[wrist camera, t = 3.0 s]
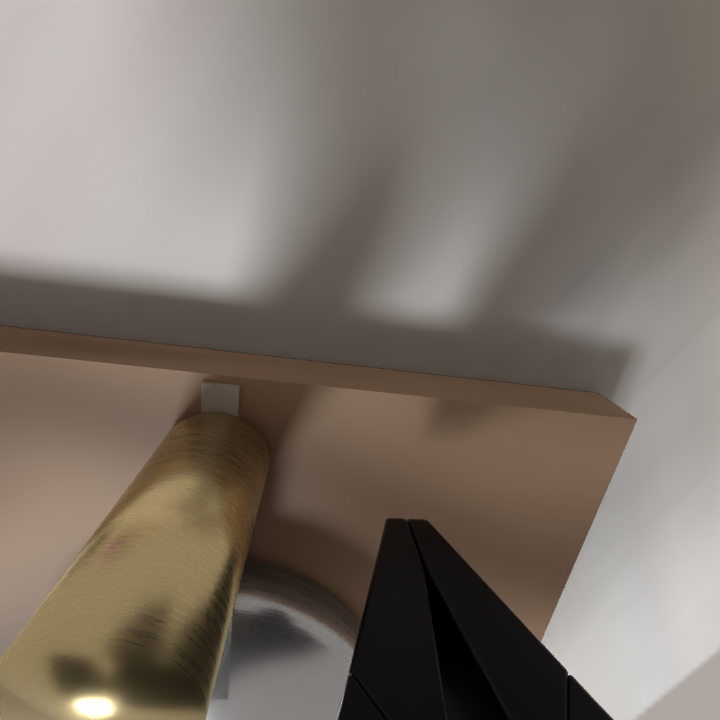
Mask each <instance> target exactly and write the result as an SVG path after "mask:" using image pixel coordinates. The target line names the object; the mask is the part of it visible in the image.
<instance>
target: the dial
mask: <svg viewBox="0 0 720 720" xmlns="http://www.w3.org/2000/svg"><path fill="white" fill-rule="evenodd" d="M269 463H270V456H269V450H268V447H267V444H266V442H265V440H264V439H263V437H262V436H261V434H260V433H259V432H258V431H257V430H256V429H255V428H254V427H253V426H252V425H251V424H249V423H248V422H246V421H245V420H243V419H241V418H239V417H236V416H234V415H231V414H227V413H222V412H202V413H197V414H194V415H191V416H188V417H186V418H184V419H183V420H181V421H180V422H178V423H177V424H176V425H175V426H174V427H173V428H172V429H171V430H170V431H169V433H168V434H167V435H166V437H165V438H164V439H163V441H162V442H161V444H160V445H159V446H158V448H157V449H156V450H155V452H154V453H153V454H152V456H151V457H150V458H149V460H148V461H147V462H146V464H145V465H144V466H143V468H142V469H141V470H140V472H139V473H138V474H137V476H136V477H135V478H134V480H133V481H132V483H131V484H130V485H129V487H128V488H127V489H126V491H125V492H124V493H123V495H122V496H121V497H120V499H119V500H118V501H117V503H116V504H115V505H114V507H113V508H112V509H111V511H110V512H109V513H108V515H107V516H106V517H105V519H104V520H103V522H102V523H101V524H100V526H99V527H98V528H97V530H96V531H95V532H94V534H93V535H92V536H91V538H90V539H89V540H88V542H87V543H86V544H85V546H84V547H83V548H82V550H81V551H80V552H79V554H78V555H77V557H76V558H75V559H74V561H73V562H72V563H71V565H70V566H69V567H68V569H67V570H66V571H65V573H64V574H63V575H62V577H61V578H60V579H59V581H58V582H57V583H56V585H55V586H54V587H53V589H52V590H51V591H50V593H49V594H48V596H47V597H46V598H45V600H44V601H43V602H42V604H41V605H40V606H39V608H38V609H37V610H36V612H35V613H34V614H33V616H32V617H31V618H30V620H29V621H28V622H27V624H26V625H25V626H24V628H23V629H22V630H21V632H20V633H19V635H18V636H17V637H16V639H15V640H14V641H13V643H12V644H11V645H10V647H9V648H8V649H7V651H6V652H5V653H4V655H3V656H2V657H1V659H0V720H336V718H337V714H338V710H339V707H340V703H341V699H342V695H343V691H344V687H345V683H346V679H347V677H348V672H349V668H350V664H351V660H352V656H353V652H354V648H355V643H356V639H357V635H358V631H359V627H360V622H359V620H358V619H357V618H356V616H355V615H354V614H353V613H352V612H351V611H350V610H349V609H348V608H347V607H346V606H345V605H344V604H343V603H341V602H340V601H339V600H338V599H336V598H335V597H334V596H332V595H331V594H330V593H328V592H327V591H325V590H324V589H322V588H320V587H318V586H317V585H315V584H313V583H312V582H310V581H308V580H306V579H303V578H301V577H299V576H296V575H294V574H292V573H290V572H287V571H284V570H280V569H277V568H274V567H271V566H268V565H264V564H259V563H255V562H250V561H246V557H247V553H248V549H249V545H250V541H251V537H252V533H253V529H254V525H255V521H256V517H257V513H258V509H259V505H260V501H261V497H262V493H263V489H264V485H265V481H266V477H267V473H268V469H269Z"/></svg>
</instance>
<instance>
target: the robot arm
mask: <svg viewBox="0 0 720 720" xmlns="http://www.w3.org/2000/svg"><path fill="white" fill-rule="evenodd" d="M336 720H613V718H612V717H611V716H610V715H609V714H608V713H607V712H606V711H605V710H604V709H603V708H602V707H601V706H600V705H599V704H598V703H597V702H596V701H595V700H594V699H593V698H592V697H591V695H590V694H589V693H588V692H587V691H586V690H585V689H584V688H583V687H582V686H581V685H580V684H579V683H578V681H577V680H576V679H575V678H574V677H573V676H571V675H569V676H568V672H567V670H566V669H565V668H564V667H563V665H562V664H561V663H560V662H559V661H558V660H557V659H556V658H555V657H554V656H553V655H552V654H551V653H550V651H549V650H548V649H547V648H546V647H545V646H544V645H543V644H542V643H541V642H540V641H539V640H538V639H537V637H536V636H535V635H534V634H533V633H532V632H531V631H530V630H529V629H528V628H527V627H526V626H525V624H524V623H523V622H522V621H521V620H520V619H519V618H518V617H517V616H516V615H515V614H514V613H513V612H512V610H511V609H510V608H509V607H508V606H507V605H506V604H505V603H504V602H503V601H502V600H501V599H500V598H499V596H498V595H497V594H496V593H495V592H494V591H493V590H492V589H491V588H490V587H489V586H488V585H487V583H486V582H485V581H484V580H483V579H482V578H481V577H480V576H479V575H478V574H477V573H476V572H475V571H474V569H473V568H472V567H471V566H470V565H469V564H468V563H467V562H466V561H465V560H464V559H463V558H462V557H461V555H460V554H459V553H458V552H457V551H456V550H455V549H454V548H453V547H452V546H451V545H450V544H449V542H448V541H447V540H446V539H445V538H444V537H443V536H442V535H441V534H440V533H439V532H438V531H437V530H436V528H435V527H434V526H433V525H432V524H431V523H430V522H429V521H428V520H425V519H408V520H405V519H404V518H387V519H386V522H385V526H384V530H383V534H382V538H381V542H380V546H379V550H378V554H377V558H376V562H375V566H374V570H373V574H372V578H371V583H370V587H369V591H368V595H367V599H366V603H365V607H364V611H363V615H362V619H361V623H360V627H359V631H358V635H357V639H356V643H355V648H354V652H353V656H352V660H351V664H350V668H349V672H348V677H347V679H346V683H345V687H344V691H343V695H342V699H341V703H340V707H339V710H338V714H337V718H336Z"/></svg>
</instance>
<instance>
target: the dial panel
mask: <svg viewBox="0 0 720 720" xmlns="http://www.w3.org/2000/svg"><path fill="white" fill-rule="evenodd" d="M202 412H222V413H227V414H231V415H234V416H236V417H239V418H241V419H243V420H245V421H246V422H248V423H249V424H251V425H252V426H253V427H254V428H255V429H256V430H257V431H258V432H259V433H260V434H261V436H262V437H263V439H264V440H265V442H266V444H267V447H268V450H269V456H270V463H269V469H268V473H267V477H266V481H265V485H264V489H263V493H262V497H261V501H260V505H259V509H258V513H257V517H256V521H255V525H254V529H253V533H252V537H251V541H250V545H249V549H248V553H247V557H246V561H250V562H255V563H259V564H264V565H268V566H271V567H274V568H277V569H280V570H284V571H287V572H290V573H292V574H294V575H296V576H299V577H301V578H303V579H306V580H308V581H310V582H312V583H313V584H315V585H317V586H318V587H320V588H322V589H324V590H325V591H327V592H328V593H330V594H331V595H332V596H334V597H335V598H336V599H338V600H339V601H340V602H341V603H343V604H344V605H345V606H346V607H347V608H348V609H349V610H350V611H351V612H352V613H353V614H354V615H355V616H356V618H357V619H358V620H359V622H360V623H361V619H362V615H363V611H364V607H365V603H366V599H367V595H368V591H369V587H370V583H371V578H372V574H373V570H374V566H375V562H376V558H377V554H378V550H379V546H380V542H381V538H382V534H383V530H384V526H385V522H386V519H387V518H404V519H405V520H408V519H425V520H428V521H429V522H430V523H431V524H432V525H433V526H434V527H435V528H436V530H437V531H438V532H439V533H440V534H441V535H442V536H443V537H444V538H445V539H446V540H447V541H448V542H449V544H450V545H451V546H452V547H453V548H454V549H455V550H456V551H457V552H458V553H459V554H460V555H461V557H462V558H463V559H464V560H465V561H466V562H467V563H468V564H469V565H470V566H471V567H472V568H473V569H474V571H475V572H476V573H477V574H478V575H479V576H480V577H481V578H482V579H483V580H484V581H485V582H486V583H487V585H488V586H489V587H490V588H491V589H492V590H493V591H494V592H495V593H496V594H497V595H498V596H499V598H500V599H501V600H502V601H503V602H504V603H505V604H506V605H507V606H508V607H509V608H510V609H511V610H512V612H513V613H514V614H515V615H516V616H517V617H518V618H519V619H520V620H521V621H522V622H523V623H524V624H525V626H526V627H527V628H528V629H529V630H530V631H531V632H532V633H533V634H534V635H535V636H536V637H537V639H538V640H539V641H540V642H541V640H542V637H543V635H544V633H545V631H546V628H547V626H548V624H549V621H550V619H551V617H552V614H553V612H554V610H555V608H556V605H557V603H558V601H559V598H560V596H561V594H562V591H563V589H564V587H565V584H566V582H567V580H568V578H569V575H570V573H571V571H572V568H573V566H574V564H575V561H576V559H577V557H578V555H579V552H580V550H581V548H582V545H583V543H584V541H585V538H586V536H587V534H588V531H589V529H590V527H591V525H592V522H593V520H594V518H595V515H596V513H597V511H598V508H599V506H600V504H601V502H602V499H603V497H604V495H605V492H606V490H607V488H608V485H609V483H610V481H611V478H612V476H613V474H614V472H615V469H616V467H617V465H618V462H619V460H620V458H621V455H622V453H623V451H624V449H625V446H626V444H627V442H628V439H629V437H630V435H631V432H632V430H633V428H634V425H635V423H636V421H637V419H636V418H634V417H633V416H632V415H630V414H629V413H627V412H626V411H624V410H623V409H621V408H620V407H618V406H617V405H615V404H614V403H612V402H611V401H609V400H608V399H606V398H605V397H604V396H602V395H601V394H599V393H592V392H583V391H574V390H565V389H556V388H547V387H538V386H530V385H521V384H512V383H503V382H494V381H485V380H476V379H468V378H459V377H450V376H441V375H432V374H423V373H414V372H406V371H397V370H388V369H379V368H370V367H361V366H352V365H344V364H335V363H326V362H317V361H308V360H299V359H290V358H282V357H273V356H264V355H255V354H246V353H237V352H228V351H219V350H211V349H202V348H193V347H184V346H175V345H166V344H157V343H149V342H140V341H131V340H122V339H113V338H104V337H95V336H87V335H78V334H69V333H60V332H51V331H42V330H33V329H25V328H16V327H7V326H0V659H1V657H2V656H3V655H4V653H5V652H6V651H7V649H8V648H9V647H10V645H11V644H12V643H13V641H14V640H15V639H16V637H17V636H18V635H19V633H20V632H21V630H22V629H23V628H24V626H25V625H26V624H27V622H28V621H29V620H30V618H31V617H32V616H33V614H34V613H35V612H36V610H37V609H38V608H39V606H40V605H41V604H42V602H43V601H44V600H45V598H46V597H47V596H48V594H49V593H50V591H51V590H52V589H53V587H54V586H55V585H56V583H57V582H58V581H59V579H60V578H61V577H62V575H63V574H64V573H65V571H66V570H67V569H68V567H69V566H70V565H71V563H72V562H73V561H74V559H75V558H76V557H77V555H78V554H79V552H80V551H81V550H82V548H83V547H84V546H85V544H86V543H87V542H88V540H89V539H90V538H91V536H92V535H93V534H94V532H95V531H96V530H97V528H98V527H99V526H100V524H101V523H102V522H103V520H104V519H105V517H106V516H107V515H108V513H109V512H110V511H111V509H112V508H113V507H114V505H115V504H116V503H117V501H118V500H119V499H120V497H121V496H122V495H123V493H124V492H125V491H126V489H127V488H128V487H129V485H130V484H131V483H132V481H133V480H134V478H135V477H136V476H137V474H138V473H139V472H140V470H141V469H142V468H143V466H144V465H145V464H146V462H147V461H148V460H149V458H150V457H151V456H152V454H153V453H154V452H155V450H156V449H157V448H158V446H159V445H160V444H161V442H162V441H163V439H164V438H165V437H166V435H167V434H168V433H169V431H170V430H171V429H172V428H173V427H174V426H175V425H176V424H177V423H178V422H180V421H181V420H183V419H184V418H186V417H188V416H191V415H194V414H197V413H202Z"/></svg>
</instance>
